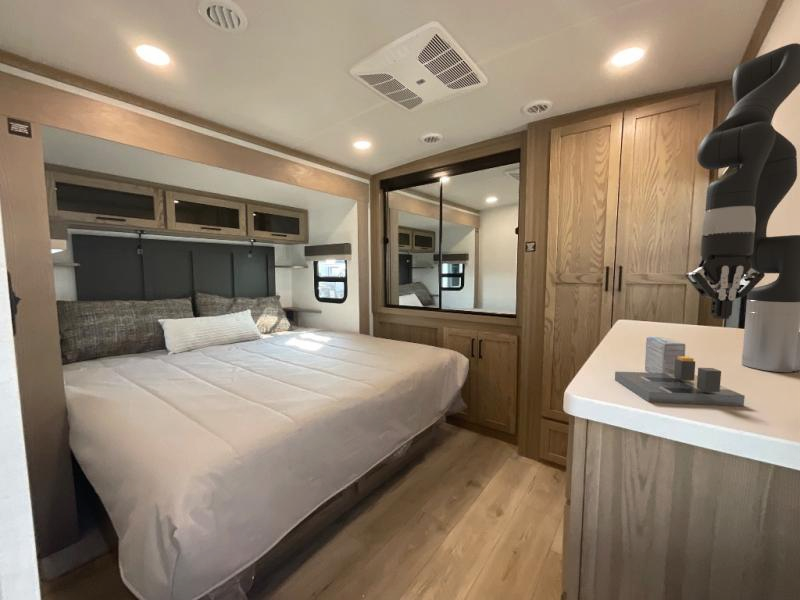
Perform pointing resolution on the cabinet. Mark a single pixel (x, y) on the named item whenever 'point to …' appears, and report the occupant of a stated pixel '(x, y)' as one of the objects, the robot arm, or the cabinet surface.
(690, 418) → the cabinet surface
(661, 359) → the light grey block
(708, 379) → the block
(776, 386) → the cabinet surface
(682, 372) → the block
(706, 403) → the board
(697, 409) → the cabinet surface
